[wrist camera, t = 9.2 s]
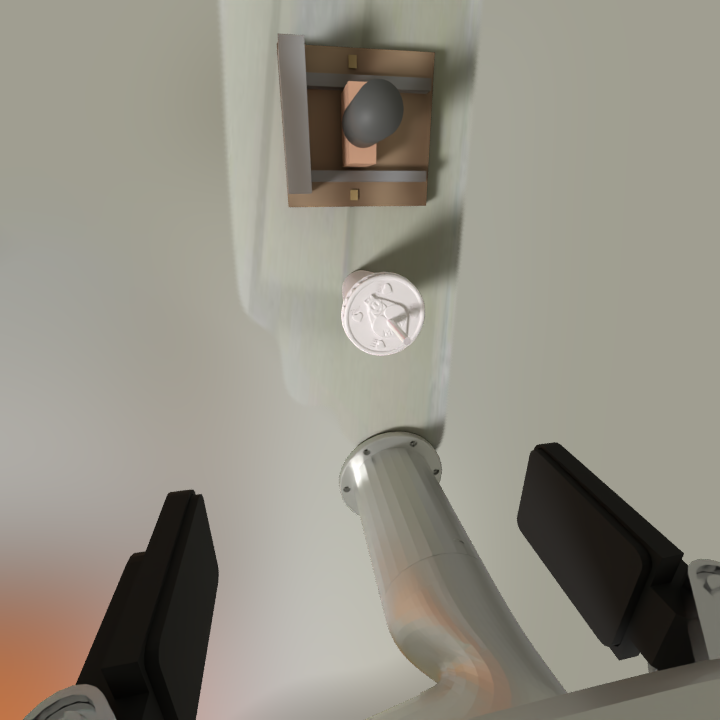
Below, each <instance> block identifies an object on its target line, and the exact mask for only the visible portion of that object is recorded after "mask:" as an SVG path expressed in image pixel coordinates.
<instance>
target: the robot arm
mask: <svg viewBox="0 0 720 720" xmlns="http://www.w3.org/2000/svg"><path fill="white" fill-rule="evenodd" d="M441 474H442V467H441V462H440V458H439V456H438V454H437V452H436V451H435V449H434V448H433V446H432V445H431V444H430V443H429V442H428V441H427V440H425V439H424V438H422V437H420V436H418V435H416V434H412V433H408V432H388V433H384V434H380V435H377V436H375V437H372V438H370V439H368V440H366V441H365V442H363V443H362V444H360V445H359V446H358V447H357V448H355V449H354V450H353V451H352V452H351V453H350V455H349V456H348V457H347V459H346V460H345V462H344V464H343V466H342V468H341V472H340V476H339V486H340V492H341V495H342V498H343V500H344V502H345V504H346V505H347V507H348V508H350V510H351V511H353V512H354V513H356V514H357V515H359V516H360V518H361V522H362V526H363V530H364V534H365V538H366V542H367V546H368V550H369V554H370V558H371V562H372V566H373V570H374V574H375V578H376V582H377V586H378V590H379V594H380V598H381V602H382V606H383V610H384V614H385V618H386V622H387V625H388V629H389V631H390V634H391V636H392V638H393V640H394V642H395V643H396V645H397V646H398V648H399V649H400V651H401V652H402V653H403V655H404V656H405V657H406V658H407V659H408V660H409V661H410V662H411V663H412V664H413V665H414V666H416V667H417V668H418V669H419V670H420V671H422V672H423V673H424V674H426V675H427V676H428V677H429V678H431V679H432V680H434V681H435V682H436V683H437V684H436V685H435V686H433V687H431V688H429V689H428V690H426V691H424V692H422V693H421V694H420V695H419V696H417V697H414V698H412V699H410V700H407V701H405V702H403V703H401V704H399V705H396V706H394V707H392V708H389V709H387V710H385V711H383V712H381V713H378V714H376V715H374V716H372V717H370V718H367V719H365V720H720V562H717V561H713V560H709V559H698V560H695V561H692V562H691V563H690V564H689V566H688V565H687V564H686V563H685V562H684V561H683V560H682V557H683V555H684V553H683V552H682V551H681V550H679V549H678V548H677V547H676V546H675V545H674V544H672V542H670V541H669V540H668V539H667V538H666V537H665V536H664V535H662V534H661V533H660V532H659V531H658V530H657V529H656V528H654V527H653V526H652V525H651V524H650V523H649V522H648V521H647V520H645V519H644V518H643V517H642V516H641V515H640V514H639V513H638V512H636V511H635V510H634V509H633V508H632V507H631V506H629V505H628V504H627V503H626V502H625V501H624V500H623V499H622V498H621V497H619V496H618V495H617V494H616V493H615V492H614V491H613V490H611V489H610V488H609V487H608V486H607V485H606V484H605V483H603V482H602V481H601V480H600V479H599V478H598V477H597V476H595V475H594V474H593V473H592V472H591V471H590V470H589V469H588V468H586V467H585V466H584V465H583V464H582V463H581V462H580V461H579V460H577V459H576V458H575V457H574V456H573V455H572V454H570V453H569V452H568V451H567V450H566V449H565V448H564V447H562V445H560V444H558V443H555V442H554V443H547V444H539V445H536V447H535V448H534V450H533V451H531V453H530V456H529V461H528V466H527V471H526V476H525V481H524V486H523V491H522V496H521V501H520V506H519V511H518V516H517V523H518V527H519V529H520V531H521V532H522V534H523V535H524V536H525V538H526V539H527V541H528V542H529V543H530V545H531V546H532V547H533V549H534V550H535V552H536V553H537V554H538V556H539V557H540V559H541V560H542V561H543V563H544V564H545V566H546V567H547V568H548V570H549V571H550V572H551V574H552V575H553V577H554V578H555V579H556V581H557V582H558V584H559V585H560V586H561V588H562V589H563V591H564V592H565V593H566V595H567V596H568V597H569V599H570V600H571V602H572V603H573V604H574V606H575V607H576V609H577V610H578V611H579V613H580V614H581V615H582V617H583V618H584V620H585V621H586V622H587V624H588V625H589V627H590V628H591V629H592V631H593V632H594V634H595V635H596V636H597V638H598V639H599V640H600V641H601V643H602V644H604V645H605V646H608V647H610V649H611V650H612V651H613V653H614V654H615V656H616V657H617V658H618V659H619V660H622V659H627V658H631V657H635V656H638V655H639V653H641V654H642V655H643V656H644V658H645V659H646V660H647V661H648V669H649V673H647V674H643V675H639V676H635V677H631V678H627V679H623V680H619V681H615V682H611V683H607V684H603V685H599V686H595V687H591V688H587V689H583V690H579V691H575V692H571V693H567V692H566V690H565V689H564V688H563V686H562V685H561V684H560V682H559V681H558V680H557V678H556V677H555V675H554V674H553V673H552V672H551V670H550V669H549V667H548V666H547V665H546V663H545V662H544V660H543V659H542V658H541V656H540V655H539V654H538V652H537V651H536V650H535V648H534V646H533V645H532V643H531V642H530V641H529V639H528V638H527V636H526V635H525V633H524V632H523V630H522V629H521V627H520V625H519V624H518V622H517V621H516V619H515V618H514V616H513V614H512V613H511V612H510V609H509V608H508V606H507V604H506V602H505V601H504V599H503V597H502V596H501V594H500V592H499V590H498V589H497V587H496V585H495V583H494V581H493V580H492V578H491V576H490V574H489V573H488V571H487V569H486V567H485V566H484V564H483V562H482V560H481V558H480V557H479V555H478V553H477V551H476V550H475V548H474V546H473V544H472V542H471V540H470V539H469V537H468V535H467V533H466V531H465V530H464V528H463V526H462V524H461V522H460V521H459V519H458V517H457V515H456V513H455V512H454V510H453V508H452V506H451V504H450V503H449V501H448V499H447V497H446V495H445V494H444V492H443V490H442V488H441V486H440V485H439V482H440V479H441ZM218 573H219V572H218V564H217V560H216V555H215V551H214V546H213V541H212V536H211V532H210V528H209V522H208V518H207V513H206V508H205V504H204V499H203V496H202V494H199V495H195V492H194V490H184V491H177V492H170V493H168V495H167V497H166V500H165V502H164V505H163V507H162V510H161V513H160V515H159V518H158V521H157V523H156V526H155V529H154V531H153V534H152V536H151V539H150V542H149V544H148V547H147V550H146V551H145V552H139V553H134V554H133V555H132V556H131V557H130V559H129V561H128V562H127V564H126V566H125V569H124V571H123V574H122V576H121V578H120V581H119V583H118V586H117V588H116V590H115V593H114V595H113V597H112V600H111V602H110V605H109V607H108V609H107V612H106V614H105V616H104V619H103V621H102V624H101V626H100V628H99V631H98V633H97V635H96V638H95V640H94V643H93V645H92V647H91V649H90V652H89V654H88V657H87V659H86V661H85V664H84V666H83V668H82V671H81V673H80V676H79V678H78V681H77V683H76V685H74V686H71V687H68V688H65V689H63V690H60V691H58V692H56V693H55V694H53V695H52V696H50V697H48V698H47V699H45V700H44V701H42V702H41V703H40V704H39V705H38V706H37V707H35V708H34V709H33V710H32V711H31V712H30V713H29V714H28V715H27V716H26V717H25V718H24V719H23V720H196V715H197V709H198V702H199V696H200V690H201V684H202V678H203V672H204V666H205V659H206V654H207V647H208V641H209V635H210V629H211V623H212V617H213V611H214V604H215V598H216V592H217V586H218V576H219V574H218Z"/></svg>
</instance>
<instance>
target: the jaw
mask: <svg viewBox="0 0 720 720" xmlns="http://www.w3.org/2000/svg"><path fill="white" fill-rule="evenodd" d="M403 112H404V106H403V100H402V97H401V94H400V92H399V91H398V89H397V88H396V87H395V86H394V85H393V84H392V83H391V82H389V81H387V80H384V79H373V80H370V81H368V82H358V81H348V82H347V84H346V86H345V88H344V89H343V91H342V93H341V127H342V167H368V166H371V165H374V164H376V143H378V142H379V141H381V140H383V139H385V138H386V137H388V136H390V135H391V134H393V133H394V132H395V131H396V130H397V128H398V127H399V125H400V123H401V121H402V118H403Z"/></svg>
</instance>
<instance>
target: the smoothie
mask: <svg viewBox="0 0 720 720" xmlns="http://www.w3.org/2000/svg"><path fill="white" fill-rule="evenodd" d="M342 293H343V305H342V312H341V318H342V325H343V328H344V330H345V333H346V335H347V336H348V337H349V339H350V340H351V341H352V343H353V344H354V345H355V346H356V347H358V348H359V349H360V350H362V351H364V352H366V353H369V354H372V355H378V356H383V355H391V354H394V353H397V352H399V351H401V350H403V349H405V348H406V347H407V346H409V345H410V344H411V343H412V342H413V341H414V340H415V339H416V337H417V336H418V334H419V333H420V331H421V329H422V326H423V323H424V318H425V305H424V301H423V298H422V296H421V294H420V292H419V290H418V289H417V288H416V287H415V286H414V285H413V284H412V283H411V282H410V281H409V280H408V279H407V278H405V277H403V276H401V275H399V274H397V273H392V272H378V273H374V272H370V271H365V270H358V271H355V272H352V273H351V274H349V275H348V276H347V278H346V279H345V281H344V283H343V286H342Z"/></svg>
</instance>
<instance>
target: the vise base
mask: <svg viewBox="0 0 720 720" xmlns="http://www.w3.org/2000/svg"><path fill="white" fill-rule="evenodd" d="M277 55H278V69H279V82H280V96H281V109H282V123H283V136H284V150H285V163H286V177H287V190H288V204H289V207H344V206H426V198H427V180H428V163H429V145H430V127H431V109H432V92H433V74H434V56H435V53H433V52H417V51H400V50H383V49H367V48H350V47H334V46H317V45H304V35H293V34H278V43H277ZM373 79H384V80H387V81H389V82H391V83H392V84H393V85H394V86H395V87H396V88H397V89H398V91H399V92H400V94H401V97H402V100H403V106H404V112H403V118H402V121H401V123H400V125H399V127H398V128H397V130H396V131H395V132H394V133H393V134H391V135H390V136H388V137H386V138H385V139H383V140H381V141H379V142H378V143H376V164H374V165H371V166H368V167H342V127H341V93H342V91H343V89H344V88H345V86H346V84H347V82H348V81H358V82H368V81H370V80H373Z"/></svg>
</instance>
